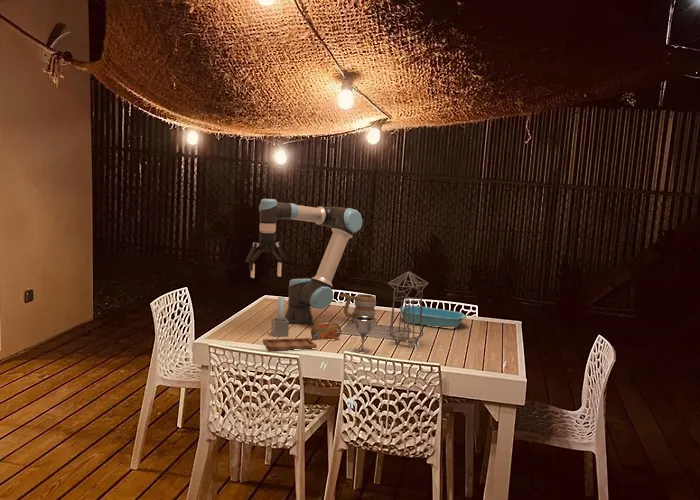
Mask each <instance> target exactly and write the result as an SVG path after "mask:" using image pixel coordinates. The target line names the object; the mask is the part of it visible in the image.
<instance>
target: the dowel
mask: <svg viewBox="0 0 700 500" xmlns="http://www.w3.org/2000/svg"><path fill="white" fill-rule="evenodd" d="M285 300H286V297H284V296H278V298H277V309H276V311H277V312H276V313H277V314H276V315H277V316H276V318H277V321H284V317H285V303H286V302H285Z"/></svg>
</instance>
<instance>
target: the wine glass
mask: <svg viewBox="0 0 700 500" xmlns="http://www.w3.org/2000/svg"><path fill="white" fill-rule="evenodd" d="M354 324H355V325H354V326H355V329H356V333H358V335H359V336H360V339H361V348H355V349H354V352H356V353H359V354H368V353H370V352H371V351H370V349H368V348H367V349H366V348H365V347H364V343H365V338H366V337H367V336H368V335H369V334H370V332H371V331H372V330H373V325H374V324H373V318H371V317H365V316H359V317H356V319H355V322H354Z"/></svg>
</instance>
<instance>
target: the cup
mask: <svg viewBox="0 0 700 500" xmlns="http://www.w3.org/2000/svg"><path fill="white" fill-rule="evenodd" d="M289 327H290V324H289V321H288V320H287V319H286V318H284V321H277V317H276V318H271V330H270V331H271V335H272V336H273V337H274V338H281V337H282V338H283V337H284V338H285V337H289V329H290V328H289Z"/></svg>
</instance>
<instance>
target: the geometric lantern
mask: <svg viewBox="0 0 700 500" xmlns="http://www.w3.org/2000/svg"><path fill="white" fill-rule="evenodd" d="M408 277H409V280H407V279H408ZM418 279H419V280H420V281H419V280H418ZM402 282H403V285H401V284H402ZM387 284H388V286H390V287H391V288H393V300H392V309H391V317H390V325H389V326H390V327H389V336H391V337H392V338H393V339H394V340H395V342H394V343H395V345H398V346H404V347H407V346H408V348H412V347H414V346H416V345H415V344H416V343H417V344H418V340H419V339H420V338H421V337H423V336H424V326H423V319H422V307H423V295H424V294H423V292H424V289H425V288H426V287H427V286H428V285H429V284H430V283H429V282H428V281H426V280H425V279H423V278H421V277H420V276H419V275H416V273H413V272H412V271H406V272H405V273H403V274H401V275H400V276H398V277H396V278H394V279H392V280H390V281H389V282H387ZM406 284H407V285H408V286H407V285H406ZM395 286H396V287H395ZM399 288H401V289H402V290H400V289H399ZM404 288H406V289H405V290H404ZM421 288H422V289H421ZM413 289H415V290H416V291H417V293H416V295H415V297H411V296H409V295H410V293H411V291H412V290H413ZM407 291H408V293H407V294H406V292H407ZM396 292H397V293H396ZM399 293H400V295H401V296H399V297H397V296H398V294H399ZM402 293H403V294H404V295H405V296H403V294H402ZM395 294H396V295H395ZM420 294H421V295H420ZM417 296H418V297H417ZM400 299H401V300H400ZM403 299H404V300H403ZM410 299H412V301H410ZM415 299H416V301H415ZM417 299H418V300H417ZM396 301H397V302H400V307H401V310H400V312H399V313H400V314H399V322H398V329H397V330H396V331H393V330H394V313H395V302H396ZM417 302H420V303H419V304H420V305H419V306H420V325H419V332H418V331H415V324H414V306H415V305H414V303H417ZM403 303H404V306H405V315H404V319H403V320H404V321H403V329H401V322H402V321H401V320H402V307H403ZM407 303H408V306H409V310H408V323H407V330H406V321H405V317H406V306H407ZM410 304H412V306H413V324H412V331H410V323H409V315H410V306H411V305H410ZM421 322H422V326H421ZM401 332H402V333H403V334H401ZM405 332H406V333H407V336H405ZM396 333H399V335H400V336H399V335H394V334H396ZM410 333H412V337H410ZM415 334H418V335H417V336H415ZM410 340H411V341H410ZM406 341H408V342H406ZM400 342H401V343H403V342H404V343H408V345H406V344H405V345H404V344H401V343H400ZM412 342H414V343H412Z"/></svg>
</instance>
